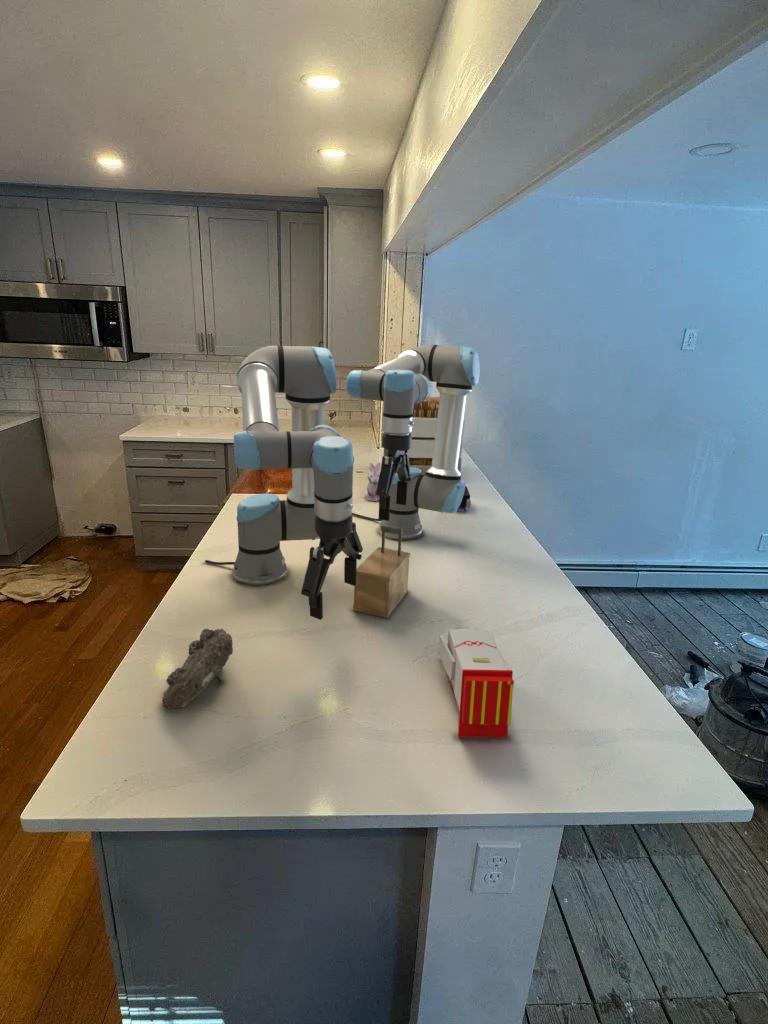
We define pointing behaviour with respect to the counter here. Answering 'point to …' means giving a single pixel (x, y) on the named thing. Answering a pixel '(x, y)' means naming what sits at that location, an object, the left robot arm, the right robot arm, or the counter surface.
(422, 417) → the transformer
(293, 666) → the counter surface
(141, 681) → the counter surface
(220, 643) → the fossil
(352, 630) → the counter surface
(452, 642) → the toy
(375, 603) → the chest
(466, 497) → the figurine character
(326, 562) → the left robot arm
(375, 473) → the figurine
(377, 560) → the lid
